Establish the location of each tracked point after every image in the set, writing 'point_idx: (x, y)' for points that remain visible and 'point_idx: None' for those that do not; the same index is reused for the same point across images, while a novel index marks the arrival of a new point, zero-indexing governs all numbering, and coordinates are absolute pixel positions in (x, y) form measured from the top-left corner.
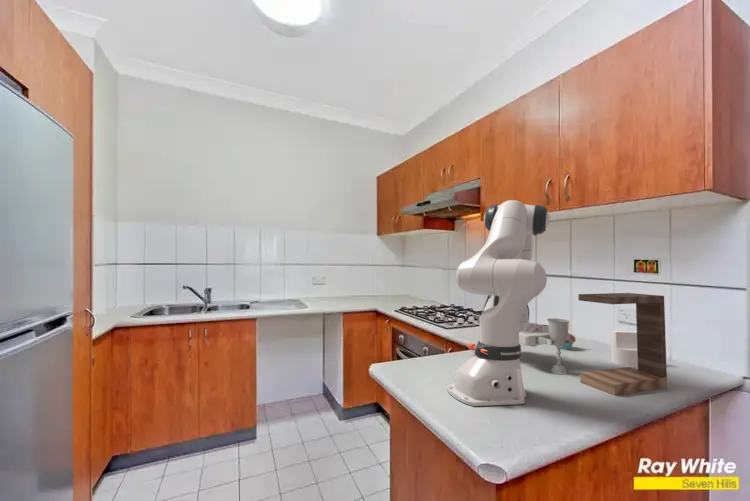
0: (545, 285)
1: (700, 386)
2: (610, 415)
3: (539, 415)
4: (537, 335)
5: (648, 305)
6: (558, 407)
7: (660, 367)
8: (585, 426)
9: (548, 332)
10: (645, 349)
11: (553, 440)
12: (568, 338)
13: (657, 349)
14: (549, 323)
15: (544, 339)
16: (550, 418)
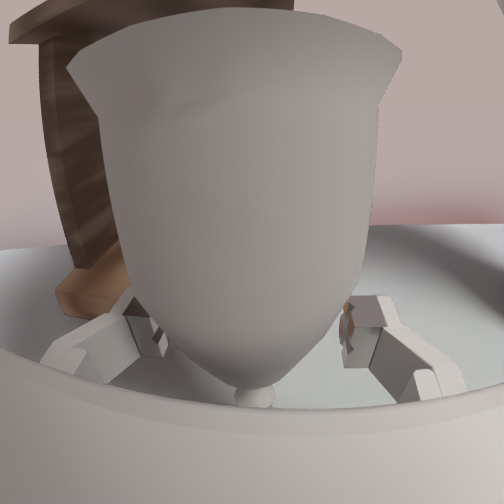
0: (501, 9)
1: (62, 249)
2: (388, 233)
3: (496, 254)
4: (484, 389)
5: (77, 51)
6: (462, 261)
7: (113, 215)
8: (446, 229)
9: (68, 491)
10: (85, 189)
11: (490, 226)
12: (126, 289)
13: (101, 171)
14: (377, 113)
15: (417, 343)
16: (483, 247)
